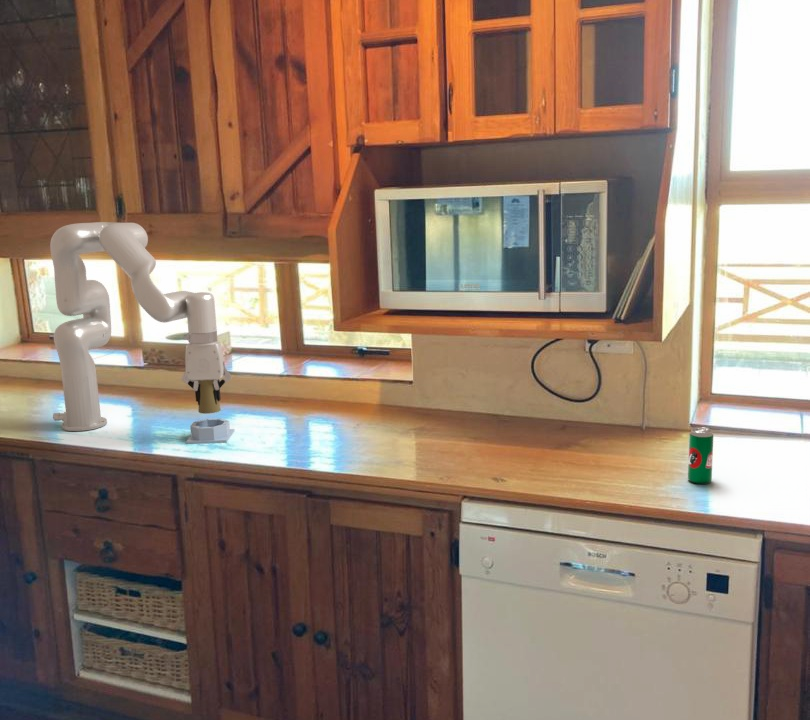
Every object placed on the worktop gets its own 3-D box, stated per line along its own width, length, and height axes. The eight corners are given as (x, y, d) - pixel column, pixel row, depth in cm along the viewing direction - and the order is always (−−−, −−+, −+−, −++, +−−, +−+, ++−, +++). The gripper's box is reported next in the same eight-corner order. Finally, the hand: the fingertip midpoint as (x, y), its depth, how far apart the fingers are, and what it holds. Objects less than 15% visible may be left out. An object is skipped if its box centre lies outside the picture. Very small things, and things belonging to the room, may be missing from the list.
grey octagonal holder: (186, 443, 233) (185, 429, 232) (195, 432, 244) (194, 418, 243) (226, 442, 233) (225, 428, 232) (234, 431, 244) (233, 417, 243)
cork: (223, 407, 240) (220, 369, 237) (216, 413, 234) (213, 374, 232) (202, 408, 240) (199, 369, 238) (195, 413, 234) (192, 374, 232)
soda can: (711, 486, 189) (713, 433, 187) (686, 483, 191) (688, 431, 188) (711, 478, 194) (714, 427, 191) (688, 476, 195) (690, 425, 193)
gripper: (168, 341, 229) (175, 408, 233) (231, 339, 229) (236, 406, 233) (176, 337, 237) (181, 401, 240) (236, 334, 237) (241, 399, 240)
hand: (208, 402), depth 237 cm, fingers closed on cork, 3 cm apart
